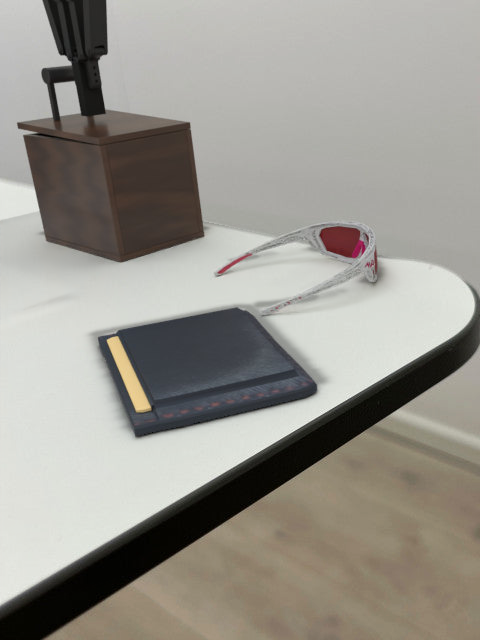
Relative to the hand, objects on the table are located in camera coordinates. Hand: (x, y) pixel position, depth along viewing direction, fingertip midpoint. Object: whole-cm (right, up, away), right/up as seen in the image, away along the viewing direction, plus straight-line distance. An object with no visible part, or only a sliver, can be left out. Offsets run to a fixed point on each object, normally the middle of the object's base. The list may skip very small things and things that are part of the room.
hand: (93, 114), depth 100 cm
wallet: (+21, -33, -33) cm, 51 cm away
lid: (+1, -2, 0) cm, 2 cm away
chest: (+2, -15, +6) cm, 16 cm away
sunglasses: (+29, -23, -13) cm, 39 cm away
